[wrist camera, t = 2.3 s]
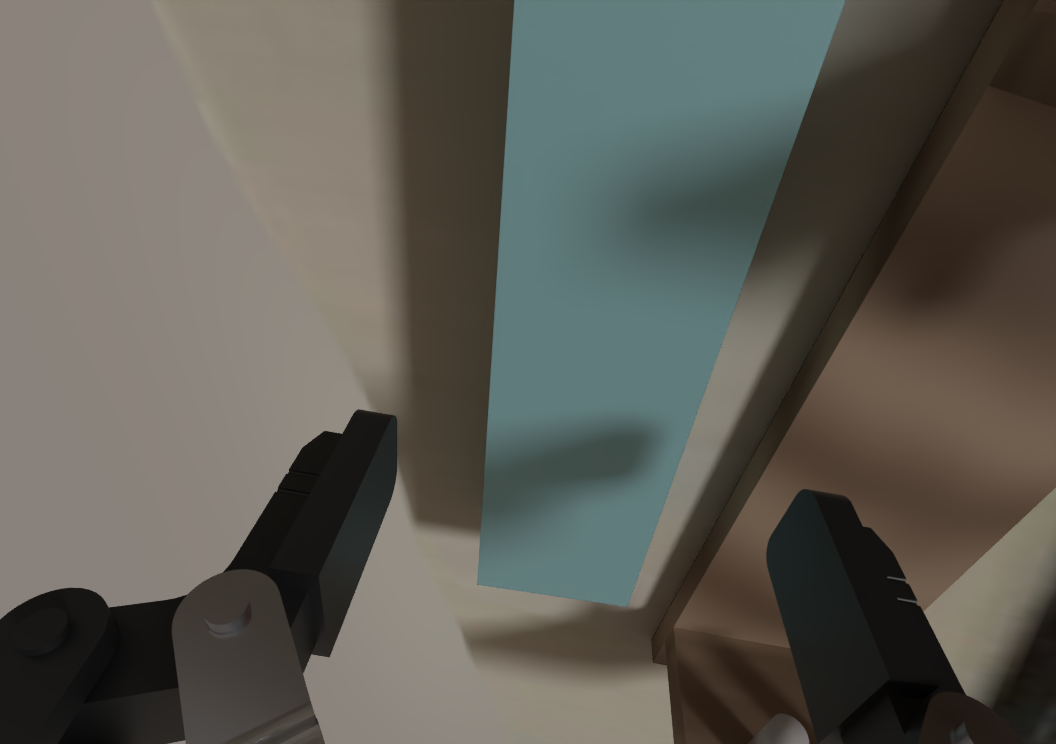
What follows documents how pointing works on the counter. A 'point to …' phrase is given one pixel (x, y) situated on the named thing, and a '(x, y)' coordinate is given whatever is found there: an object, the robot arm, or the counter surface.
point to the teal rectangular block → (624, 261)
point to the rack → (901, 393)
